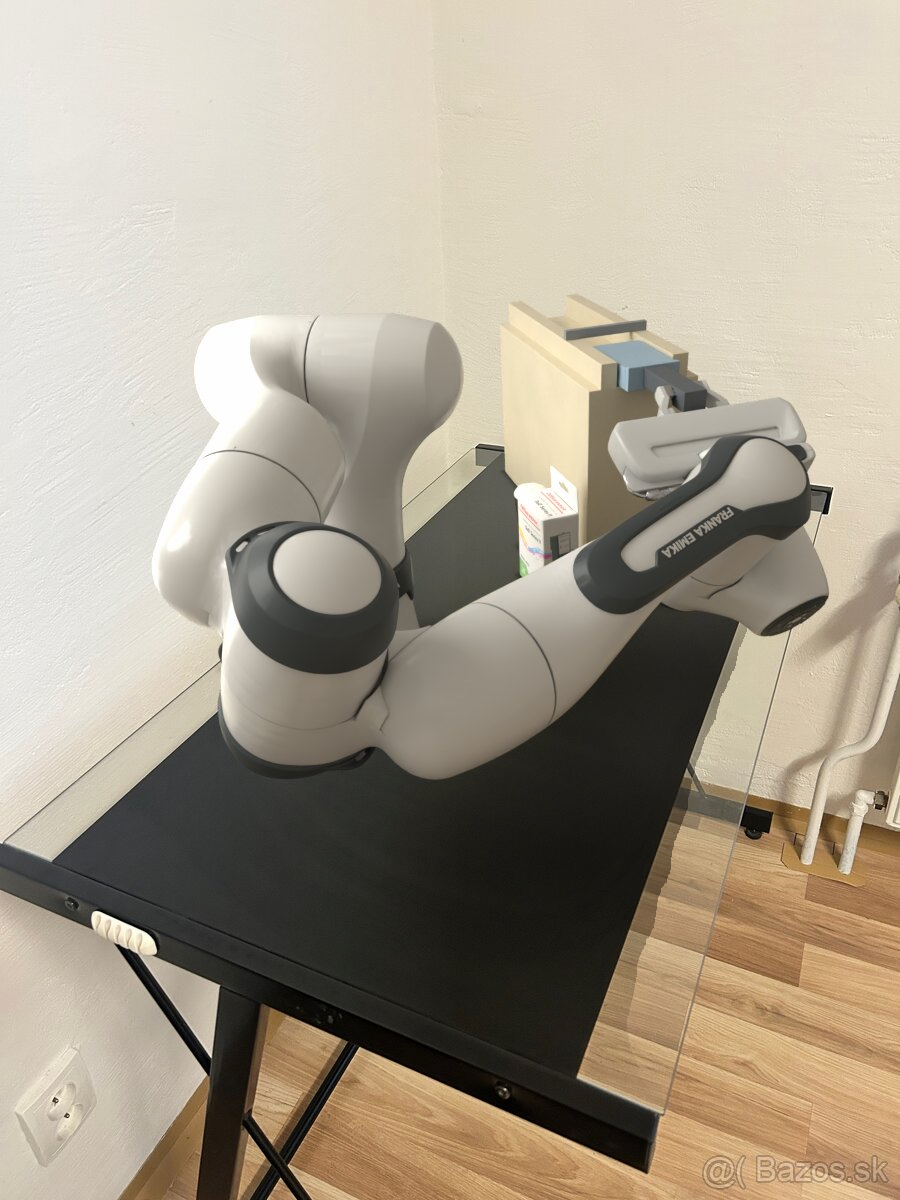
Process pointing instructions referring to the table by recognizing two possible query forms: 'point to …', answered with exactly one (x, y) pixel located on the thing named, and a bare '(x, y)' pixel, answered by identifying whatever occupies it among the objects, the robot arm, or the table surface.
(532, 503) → the ink box
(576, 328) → the detergent unit
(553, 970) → the table surface
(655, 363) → the tray
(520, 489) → the milkshake
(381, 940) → the table surface
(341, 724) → the robot arm
